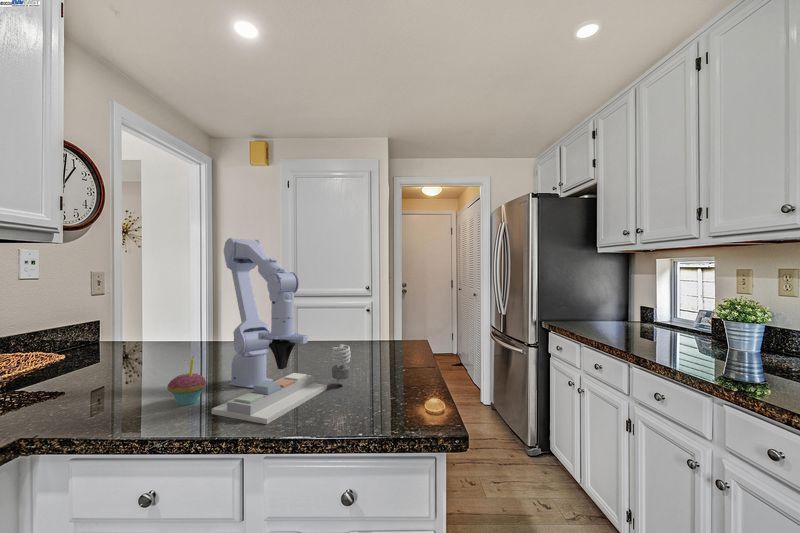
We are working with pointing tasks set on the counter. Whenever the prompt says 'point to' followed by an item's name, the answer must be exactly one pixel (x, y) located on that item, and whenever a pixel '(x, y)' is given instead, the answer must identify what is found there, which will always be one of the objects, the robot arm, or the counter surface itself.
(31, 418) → the counter surface
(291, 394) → the keypad
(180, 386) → the cupcake
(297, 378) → the key ivory
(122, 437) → the counter surface
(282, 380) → the key terracotta
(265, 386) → the key slate
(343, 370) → the light bulb
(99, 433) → the counter surface
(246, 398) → the key sage
